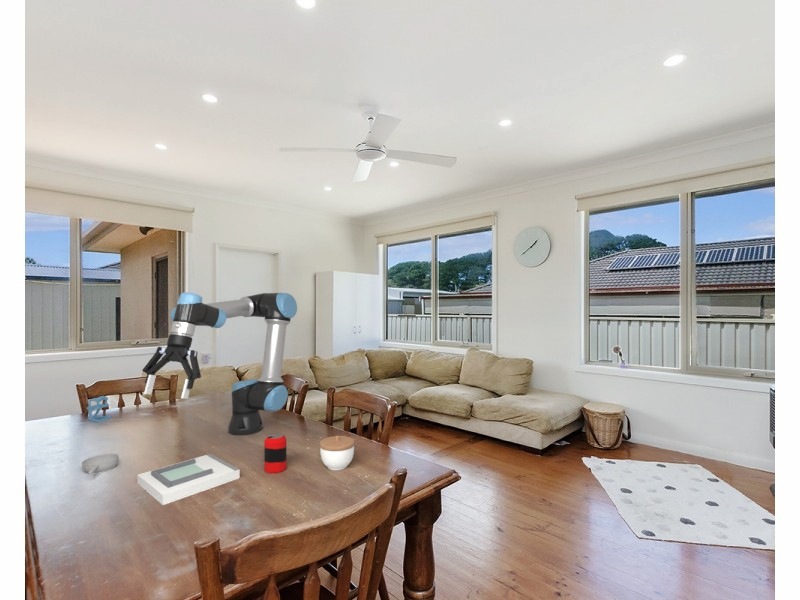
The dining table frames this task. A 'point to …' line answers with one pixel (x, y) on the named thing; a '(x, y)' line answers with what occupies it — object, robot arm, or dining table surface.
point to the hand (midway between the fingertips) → (165, 396)
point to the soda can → (275, 453)
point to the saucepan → (100, 463)
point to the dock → (187, 478)
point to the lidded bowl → (337, 451)
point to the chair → (97, 409)
